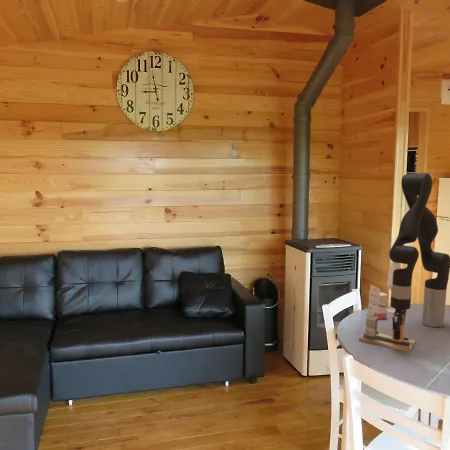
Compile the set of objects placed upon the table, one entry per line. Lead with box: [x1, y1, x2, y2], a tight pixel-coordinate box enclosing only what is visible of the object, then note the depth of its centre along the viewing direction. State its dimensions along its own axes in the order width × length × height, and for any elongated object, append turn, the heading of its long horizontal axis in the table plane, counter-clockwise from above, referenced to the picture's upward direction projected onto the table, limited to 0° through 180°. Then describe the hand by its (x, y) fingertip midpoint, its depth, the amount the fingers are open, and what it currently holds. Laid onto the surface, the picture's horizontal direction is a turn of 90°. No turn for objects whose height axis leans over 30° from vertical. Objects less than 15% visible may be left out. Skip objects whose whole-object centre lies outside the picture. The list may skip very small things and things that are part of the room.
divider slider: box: [391, 322, 406, 342], centre depth 195 cm, size 9×4×8 cm, turn 149°
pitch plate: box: [358, 315, 417, 353], centre depth 198 cm, size 12×20×10 cm, turn 58°
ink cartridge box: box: [367, 284, 389, 320], centre depth 230 cm, size 9×5×15 cm, turn 17°
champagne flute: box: [386, 262, 402, 314], centre depth 239 cm, size 7×7×24 cm
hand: (397, 337), depth 193 cm, fingers closed on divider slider, 3 cm apart
